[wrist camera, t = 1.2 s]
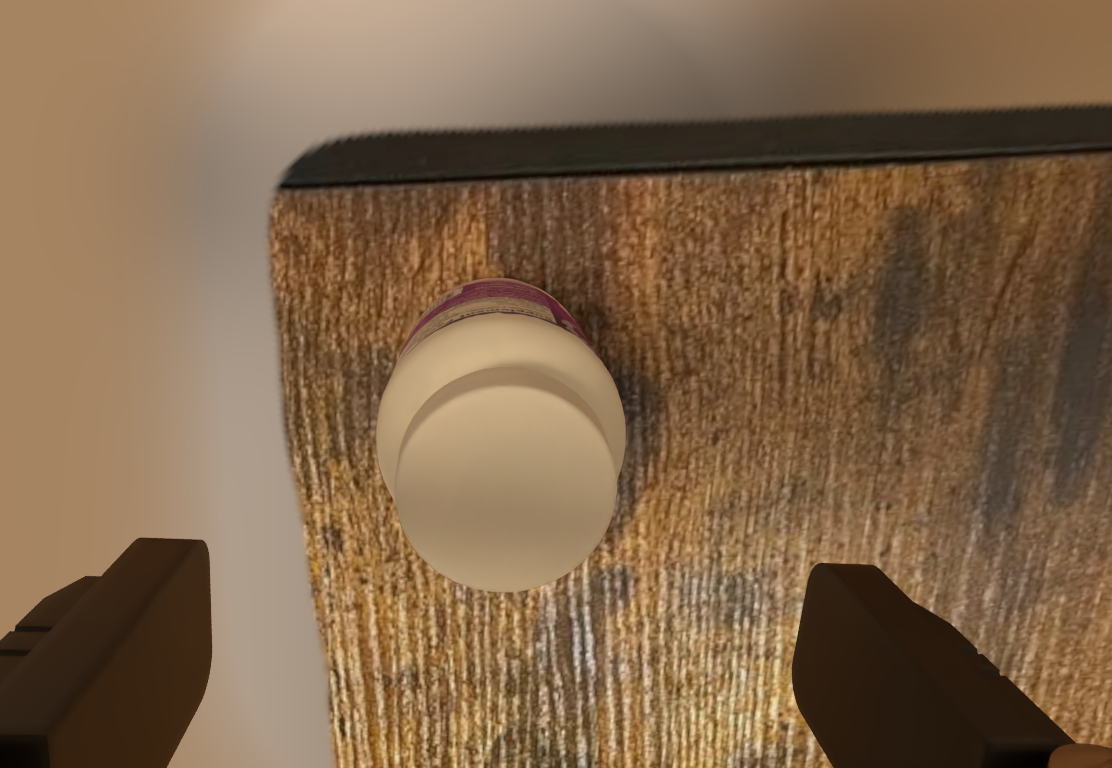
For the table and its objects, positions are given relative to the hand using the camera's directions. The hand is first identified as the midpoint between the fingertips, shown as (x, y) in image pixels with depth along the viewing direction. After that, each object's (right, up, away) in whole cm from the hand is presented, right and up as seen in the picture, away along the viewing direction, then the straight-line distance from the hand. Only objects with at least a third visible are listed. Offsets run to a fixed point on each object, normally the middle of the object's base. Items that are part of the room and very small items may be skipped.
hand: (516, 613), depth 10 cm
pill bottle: (-1, +4, +13) cm, 13 cm away
